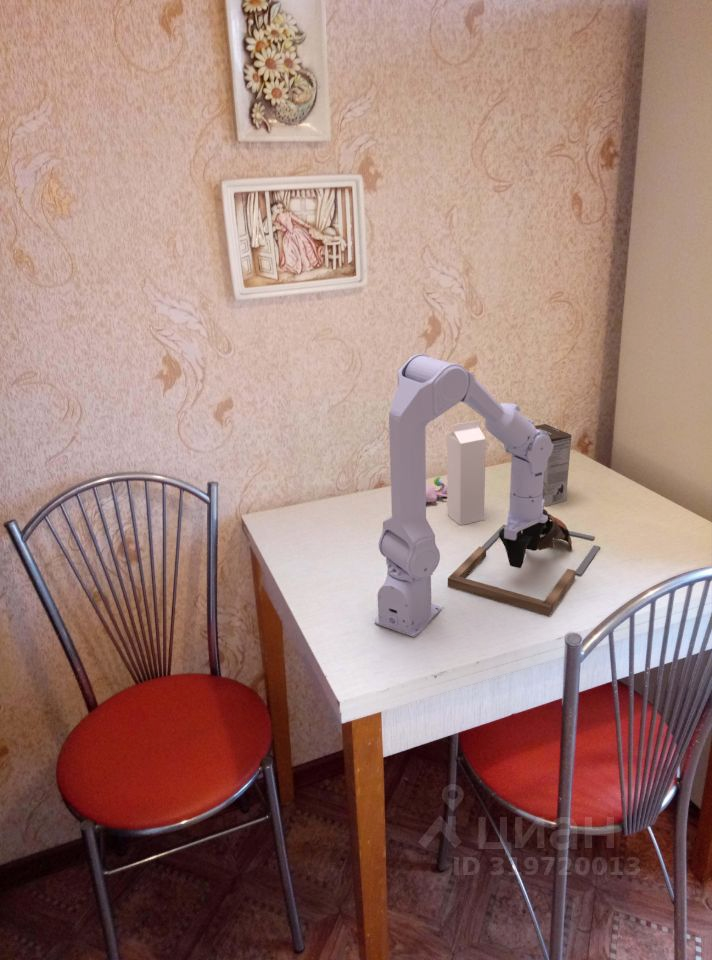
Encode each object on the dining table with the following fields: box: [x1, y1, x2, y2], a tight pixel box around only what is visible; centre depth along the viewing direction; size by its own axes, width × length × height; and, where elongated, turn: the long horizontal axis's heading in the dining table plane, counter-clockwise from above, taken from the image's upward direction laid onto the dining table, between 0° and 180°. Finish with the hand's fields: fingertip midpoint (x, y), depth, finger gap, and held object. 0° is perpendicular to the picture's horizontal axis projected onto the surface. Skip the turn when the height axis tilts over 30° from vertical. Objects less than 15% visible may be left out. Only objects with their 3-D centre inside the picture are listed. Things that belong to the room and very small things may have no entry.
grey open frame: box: [481, 524, 601, 577], centre depth 136 cm, size 16×20×1 cm
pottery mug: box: [522, 508, 573, 552], centre depth 135 cm, size 12×10×8 cm
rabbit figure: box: [426, 476, 447, 504], centre depth 157 cm, size 6×6×15 cm
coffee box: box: [534, 423, 573, 507], centre depth 154 cm, size 9×6×16 cm
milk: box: [446, 420, 487, 526], centre depth 145 cm, size 6×6×22 cm
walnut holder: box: [447, 546, 576, 617], centre depth 124 cm, size 14×19×2 cm
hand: (523, 557), depth 127 cm, fingers open, 7 cm apart
